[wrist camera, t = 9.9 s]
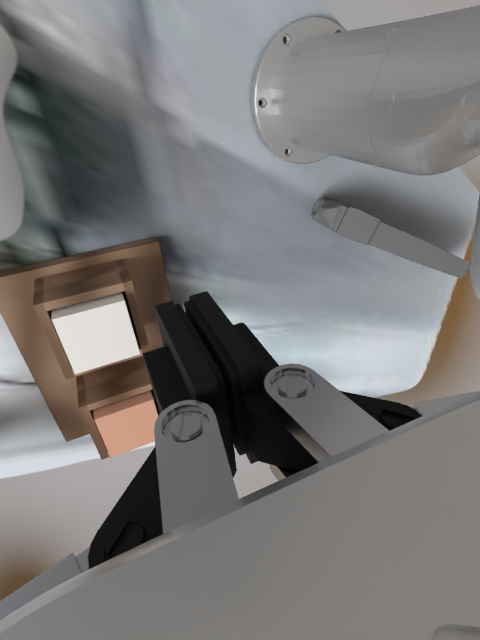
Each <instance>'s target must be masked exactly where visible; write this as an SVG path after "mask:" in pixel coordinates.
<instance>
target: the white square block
mask: <svg viewBox="0 0 480 640" xmlns="http://www.w3.org/2000/svg"><path fill="white" fill-rule="evenodd" d="M52 322H53V324H54V327H55V329H56V331H57V334H58V336H59V338H60V341H61V343H62V345H63V348H64V350H65V352H66V355H67V357H68V359H69V362H70V364H71V366H72V369H73V371H74V373H75V374H78V373H81V372H85V371H88V370H91V369H94V368H98V367H101V366H104V365H107V364H111V363H114V362H117V361H120V360H123V359H127V358H130V357H133V356H136V355H140V352H139V348H138V345H137V341H136V338H135V335H134V331H133V328H132V324H131V321H130V317H129V314H128V310H127V307H126V304H125V300H124V297H123V294H122V292H119V293H115V294H111V295H107V296H103V297H99V298H95V299H92V300H88V301H84V302H80V303H76V304H72V305H68V306H64V307H61V308H57V309H53V310H52Z"/></svg>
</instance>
